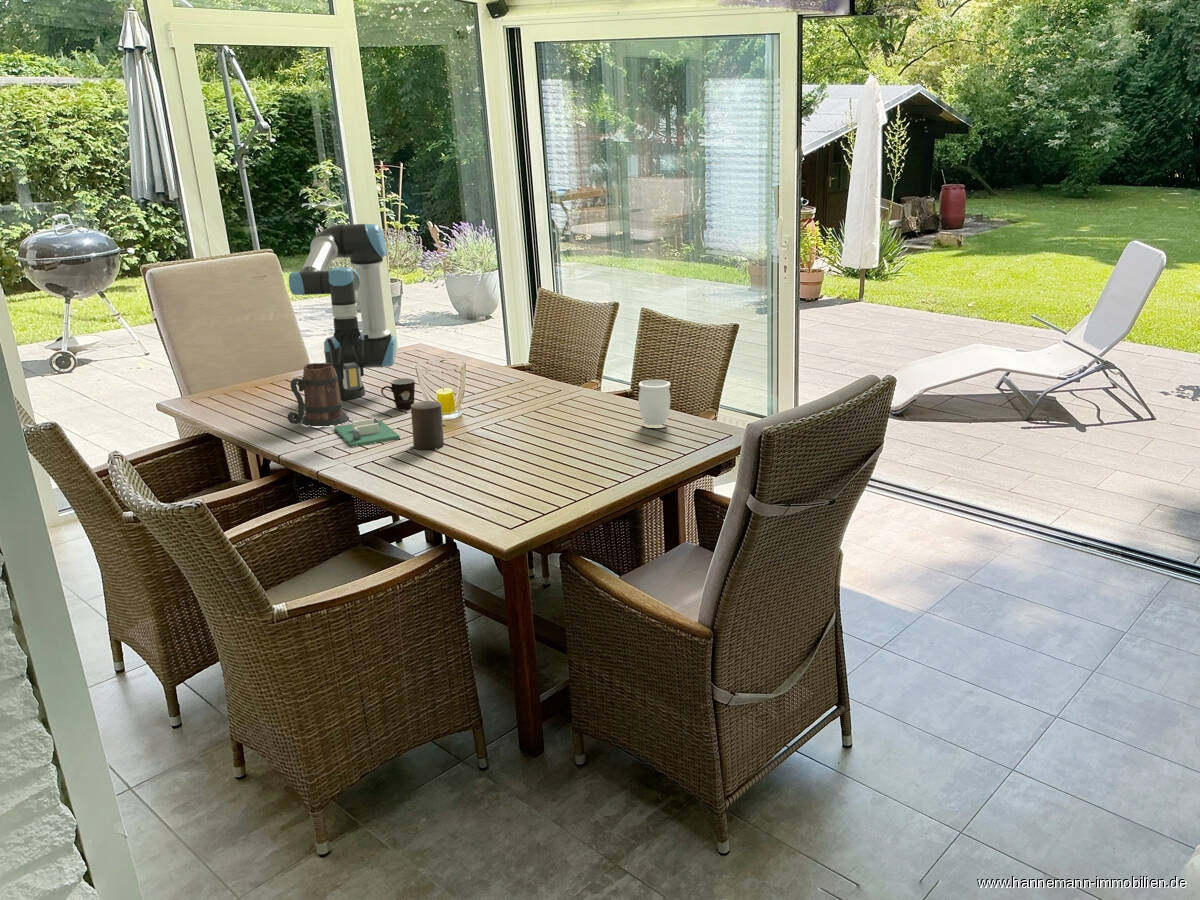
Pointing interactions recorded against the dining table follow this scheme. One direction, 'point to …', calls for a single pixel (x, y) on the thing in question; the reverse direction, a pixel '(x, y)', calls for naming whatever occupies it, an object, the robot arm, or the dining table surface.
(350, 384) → the plug
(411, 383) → the coffee mug
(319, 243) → the robot arm
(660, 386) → the jar
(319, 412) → the tankard
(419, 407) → the pillar candle
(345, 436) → the board
